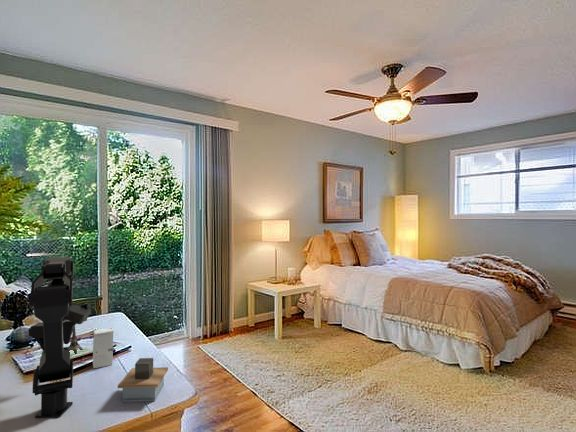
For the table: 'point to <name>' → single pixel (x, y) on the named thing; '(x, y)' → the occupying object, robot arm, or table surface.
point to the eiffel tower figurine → (74, 343)
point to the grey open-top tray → (142, 393)
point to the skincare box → (102, 347)
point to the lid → (143, 375)
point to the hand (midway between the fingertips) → (58, 349)
